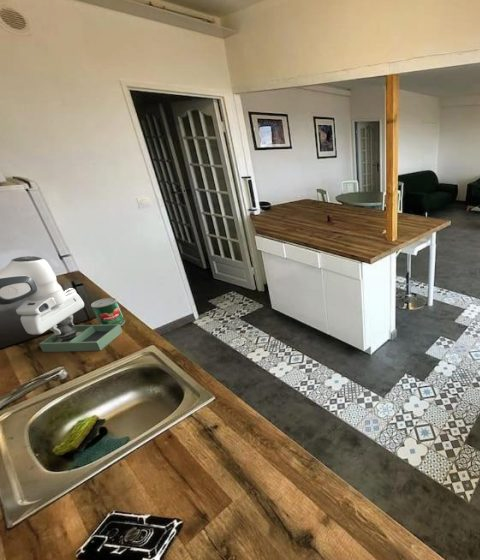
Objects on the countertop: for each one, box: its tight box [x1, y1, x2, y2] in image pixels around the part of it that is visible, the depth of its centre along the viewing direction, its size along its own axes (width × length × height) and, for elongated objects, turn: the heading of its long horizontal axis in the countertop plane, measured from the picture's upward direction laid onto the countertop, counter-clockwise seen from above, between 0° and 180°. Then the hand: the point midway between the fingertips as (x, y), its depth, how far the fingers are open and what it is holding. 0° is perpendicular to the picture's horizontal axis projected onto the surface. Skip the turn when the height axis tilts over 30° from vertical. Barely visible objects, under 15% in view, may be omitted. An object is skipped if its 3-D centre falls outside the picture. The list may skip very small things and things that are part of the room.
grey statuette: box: [56, 319, 78, 342], centre depth 117 cm, size 6×6×12 cm
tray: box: [38, 324, 123, 353], centre depth 120 cm, size 12×20×4 cm, turn 95°
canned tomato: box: [90, 297, 126, 326], centre depth 129 cm, size 8×8×11 cm
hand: (64, 330), depth 118 cm, fingers closed on grey statuette, 3 cm apart
